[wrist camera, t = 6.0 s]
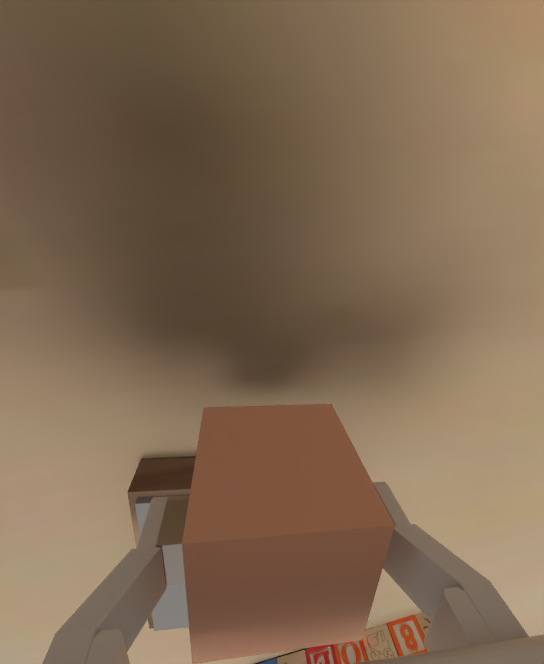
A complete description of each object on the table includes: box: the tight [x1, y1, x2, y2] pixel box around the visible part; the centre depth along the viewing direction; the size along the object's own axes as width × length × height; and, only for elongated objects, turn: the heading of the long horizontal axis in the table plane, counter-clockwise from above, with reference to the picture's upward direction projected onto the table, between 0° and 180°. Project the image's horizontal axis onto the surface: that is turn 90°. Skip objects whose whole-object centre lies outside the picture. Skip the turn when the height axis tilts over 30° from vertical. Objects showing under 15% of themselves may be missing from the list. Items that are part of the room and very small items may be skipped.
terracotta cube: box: [182, 404, 395, 664], centre depth 10 cm, size 5×5×5 cm
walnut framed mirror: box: [128, 457, 196, 631], centre depth 22 cm, size 14×14×3 cm
